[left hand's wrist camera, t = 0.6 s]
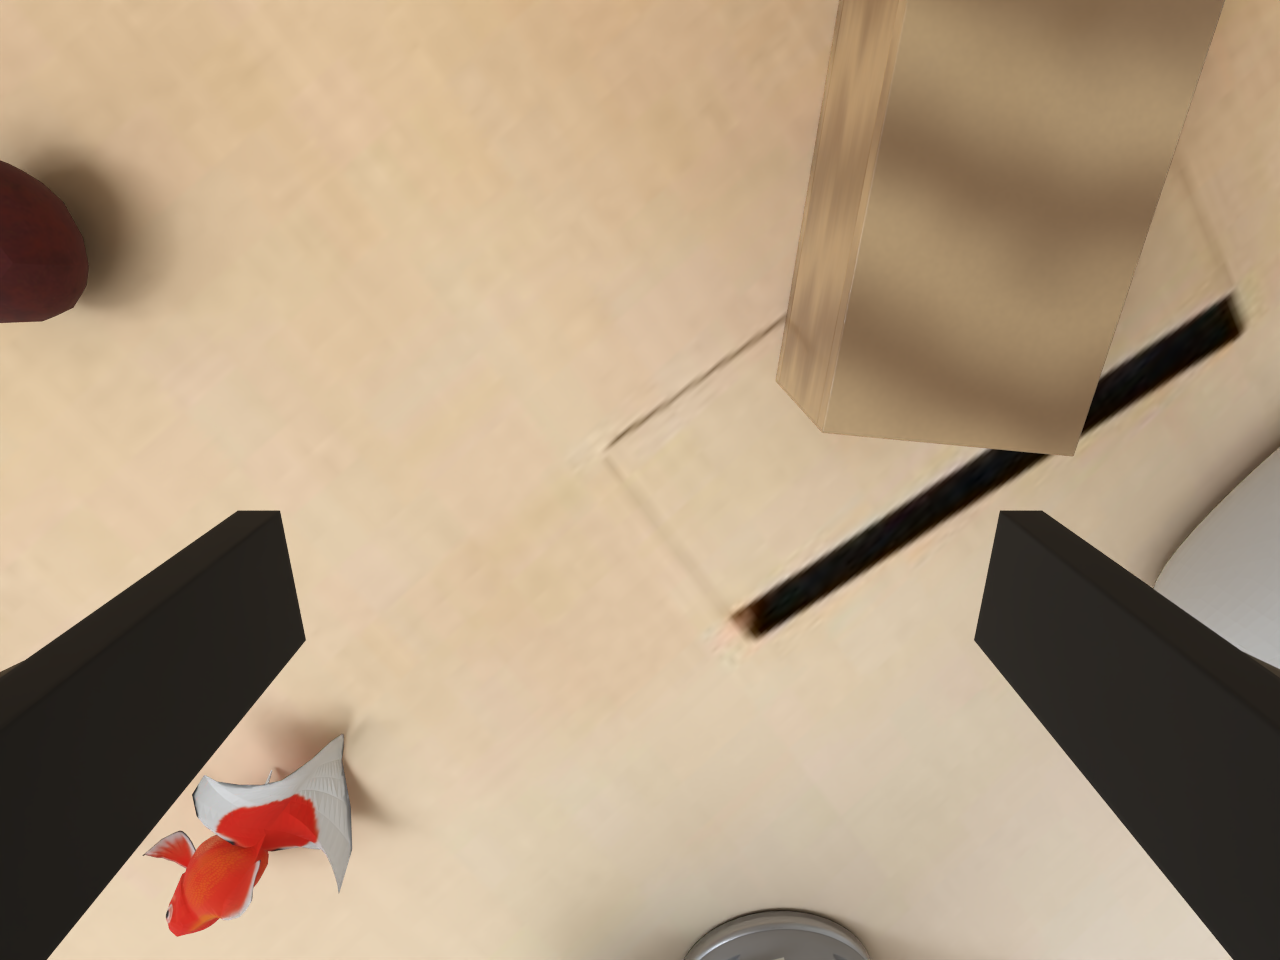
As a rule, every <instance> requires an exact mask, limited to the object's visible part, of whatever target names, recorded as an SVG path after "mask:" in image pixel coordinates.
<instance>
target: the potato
mask: <svg viewBox="0 0 1280 960" xmlns="http://www.w3.org/2000/svg"><path fill="white" fill-rule="evenodd" d="M88 268H89V265H88V260H87V255H86V250H85V245H84V241H83V237H82V235H81V233H80V231H79V229H78V228H77V226H76V224H75V222H74V220H73V219H72V217H71V215H70V213H69V211H68V210H67V208H66V206H65V204H64V203H63V202H62V201H61V200H60V199H59V198H58V197H57V196H56V195H55V194H54V193H53V192H52V191H51V190H49V189H48V188H47V187H46V186H45V185H44V184H43V183H41V182H40V181H38V180H37V179H35V178H33V177H32V176H30V175H28V174H27V173H25V172H24V171H22V170H20V169H18V168H16V167H14V166H12V165H10V164H8V163H5V162H3V161H0V323H11V322H36V321H44V320H47V319H49V318H52V317H55V316H57V315H59V314H61V313H63V312H65V311H67V310H69V309H71V308H73V307H74V306H75V304H76V302H77V301H78V299H79V297H80V296H81V294H82V293H83V291H84V289H85V287H86V285H87V277H88Z"/></svg>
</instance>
